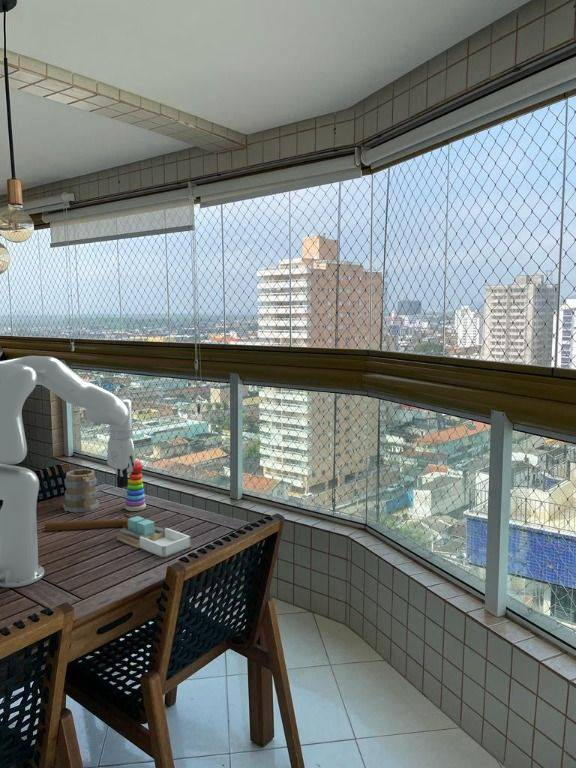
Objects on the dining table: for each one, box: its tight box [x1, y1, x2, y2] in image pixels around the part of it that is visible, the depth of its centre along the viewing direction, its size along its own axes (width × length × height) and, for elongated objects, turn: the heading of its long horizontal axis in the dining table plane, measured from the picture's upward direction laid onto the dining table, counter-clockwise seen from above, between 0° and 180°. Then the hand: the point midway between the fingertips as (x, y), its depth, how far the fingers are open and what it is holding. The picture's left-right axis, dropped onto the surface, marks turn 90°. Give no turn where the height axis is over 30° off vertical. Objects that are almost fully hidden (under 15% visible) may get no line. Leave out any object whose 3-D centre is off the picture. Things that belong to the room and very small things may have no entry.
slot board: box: [116, 525, 165, 548], centre depth 184 cm, size 12×11×3 cm
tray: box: [139, 527, 192, 559], centre depth 177 cm, size 11×12×4 cm
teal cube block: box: [128, 515, 146, 533], centre depth 186 cm, size 4×4×4 cm
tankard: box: [62, 468, 100, 514], centre depth 211 cm, size 20×13×15 cm, turn 28°
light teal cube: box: [137, 518, 155, 537], centre depth 183 cm, size 4×4×4 cm
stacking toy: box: [124, 460, 147, 512], centre depth 213 cm, size 8×8×19 cm
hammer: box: [44, 513, 134, 532], centre depth 194 cm, size 12×3×30 cm
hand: (122, 486), depth 190 cm, fingers closed
